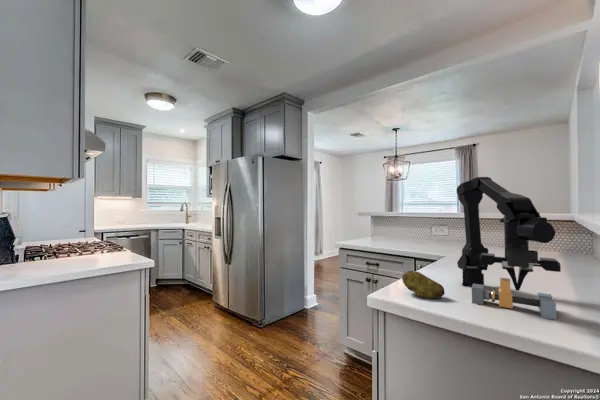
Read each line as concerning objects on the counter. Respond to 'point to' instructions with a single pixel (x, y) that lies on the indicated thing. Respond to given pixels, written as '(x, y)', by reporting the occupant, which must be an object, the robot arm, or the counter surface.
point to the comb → (547, 306)
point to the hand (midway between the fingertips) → (517, 290)
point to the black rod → (520, 300)
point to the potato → (422, 285)
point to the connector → (479, 294)
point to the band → (493, 296)
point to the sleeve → (505, 293)
